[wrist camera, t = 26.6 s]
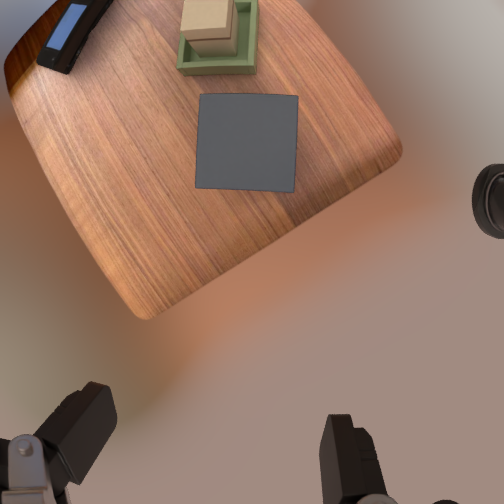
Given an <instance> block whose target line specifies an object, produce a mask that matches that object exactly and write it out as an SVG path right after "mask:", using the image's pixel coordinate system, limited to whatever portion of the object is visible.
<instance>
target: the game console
mask: <svg viewBox="0 0 504 504" xmlns="http://www.w3.org/2000/svg"><path fill="white" fill-rule="evenodd" d="M113 1H114V0H71V1H70V2H69V4H68V5H67V7H66V8H65V10H64V11H63V13H62V14H61V16H60V18H59V19H58V21H57V23H56V24H55V26H54V28H53V29H52V31H51V33H50V34H49V36H48V38H47V40H46V42H45V43H44V45H43V47H42V49H41V51H40V53H39V55H38V57H37V60H36V62H37V64H38V65H41V66H44V67H46V68H49V69H52V70H55V71H58V72H60V73H63V74H66V75H67V74H69V73H70V71H71V70H72V68H73V66H74V63H75V61H76V59H77V57H78V56H79V54H80V52H81V50H82V48H83V47H84V45H85V43H86V41H87V39H88V36H89V34H90V32H91V31H92V30H93V29H94V28H95V26H96V25H97V23H98V22H99V20H100V19H101V17H102V16H103V14H104V13H105V11H106V10H107V9H108V7H109V6H110V4H111V3H112V2H113Z"/></svg>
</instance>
